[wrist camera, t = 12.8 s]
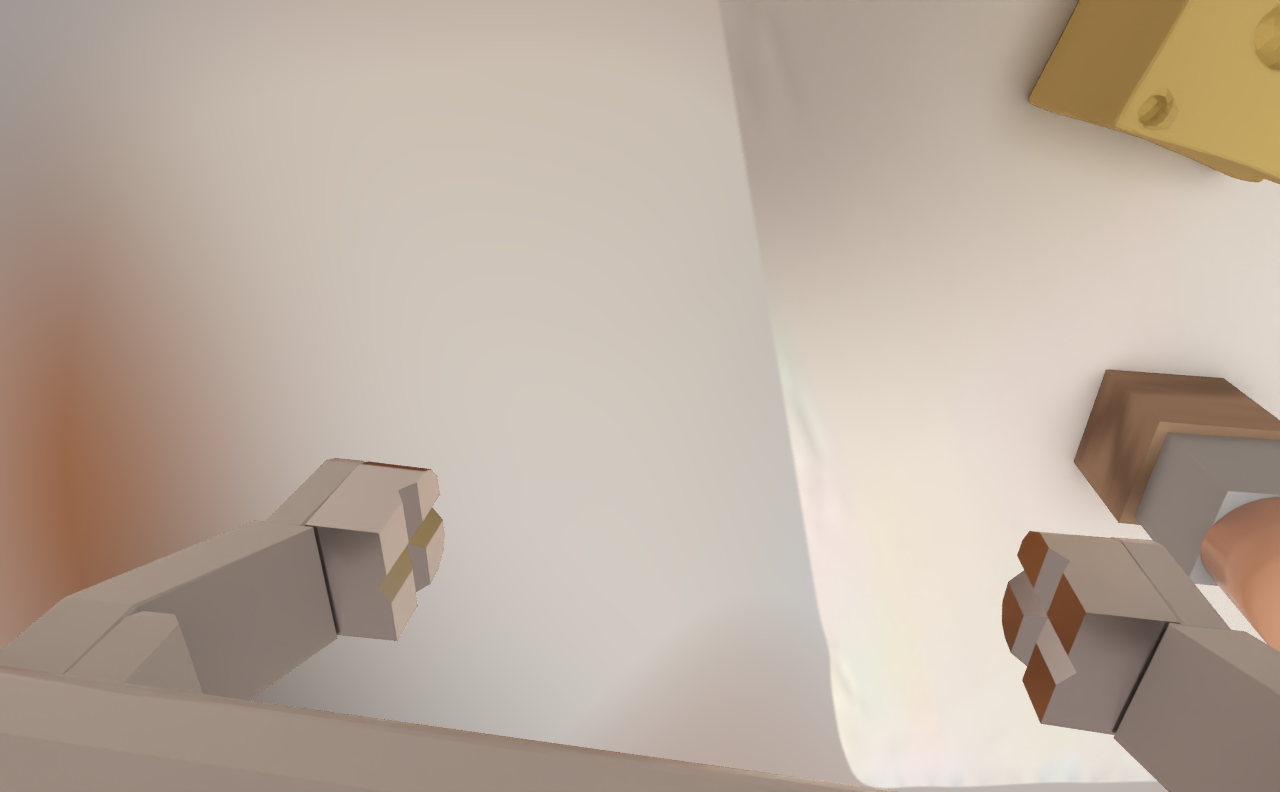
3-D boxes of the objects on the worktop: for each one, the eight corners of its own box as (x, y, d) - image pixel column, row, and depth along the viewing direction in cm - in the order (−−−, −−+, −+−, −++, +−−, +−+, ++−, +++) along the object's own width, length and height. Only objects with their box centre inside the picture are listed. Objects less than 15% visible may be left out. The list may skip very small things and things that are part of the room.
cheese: (1219, 173, 35) (1377, 223, 26) (1007, 104, 35) (1094, 131, 26) (1381, -74, 30) (1642, -115, 21) (1135, -155, 30) (1296, -230, 21)
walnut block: (1105, 369, 40) (1159, 421, 35) (1222, 377, 39) (1295, 432, 34) (1073, 461, 43) (1118, 522, 38) (1182, 470, 42) (1244, 534, 37)
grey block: (1167, 432, 35) (1227, 490, 31) (1280, 439, 34) (1359, 500, 30) (1134, 516, 37) (1186, 582, 33) (1240, 525, 37) (1307, 593, 32)
